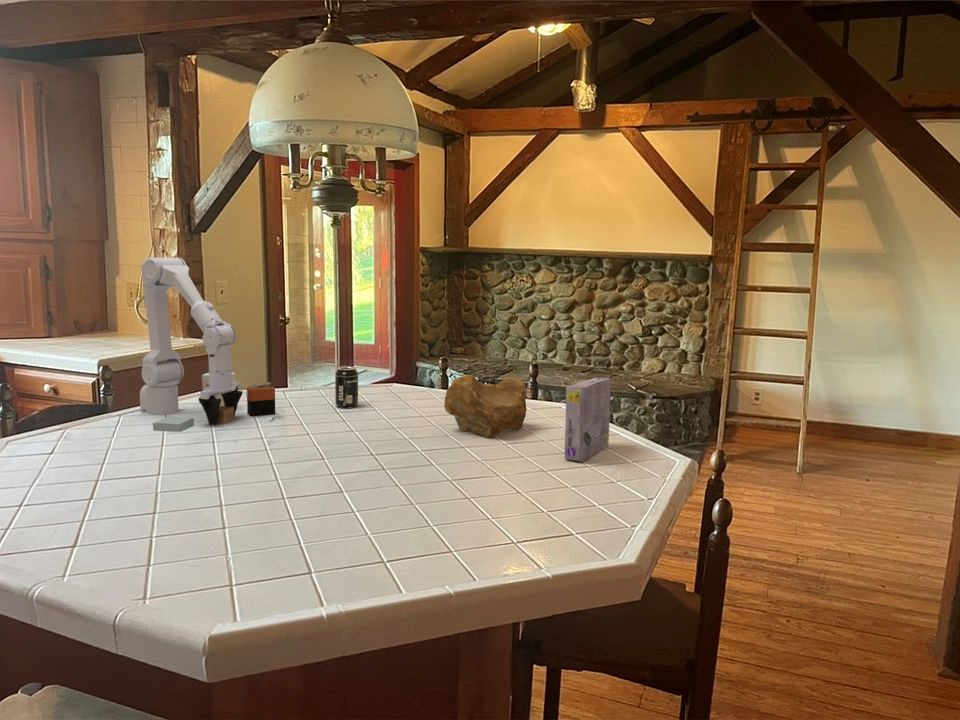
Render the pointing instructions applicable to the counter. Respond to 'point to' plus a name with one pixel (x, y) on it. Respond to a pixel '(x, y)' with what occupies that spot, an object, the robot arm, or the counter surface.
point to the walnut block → (225, 414)
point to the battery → (261, 400)
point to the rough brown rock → (487, 405)
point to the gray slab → (173, 424)
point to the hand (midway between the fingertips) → (221, 420)
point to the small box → (206, 384)
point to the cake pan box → (587, 418)
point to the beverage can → (346, 387)
